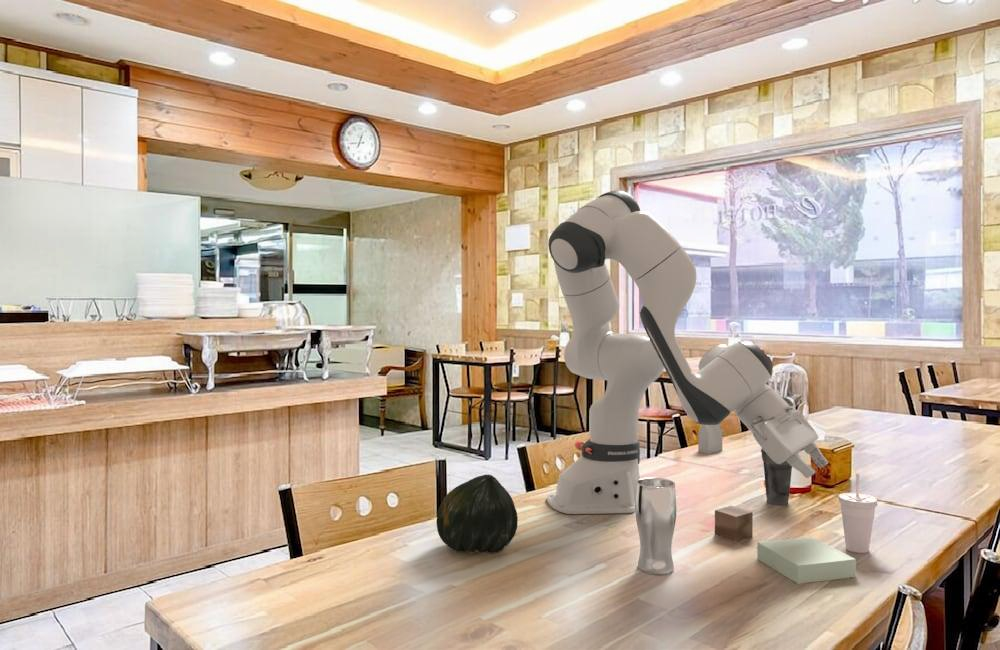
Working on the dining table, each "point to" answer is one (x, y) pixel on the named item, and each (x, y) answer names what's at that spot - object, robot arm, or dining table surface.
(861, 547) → the smoothie
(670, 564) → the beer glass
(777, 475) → the beverage cup
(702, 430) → the grey tapered block
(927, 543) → the dining table surface
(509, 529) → the squash
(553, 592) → the dining table surface
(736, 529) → the brick
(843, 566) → the pedestal
